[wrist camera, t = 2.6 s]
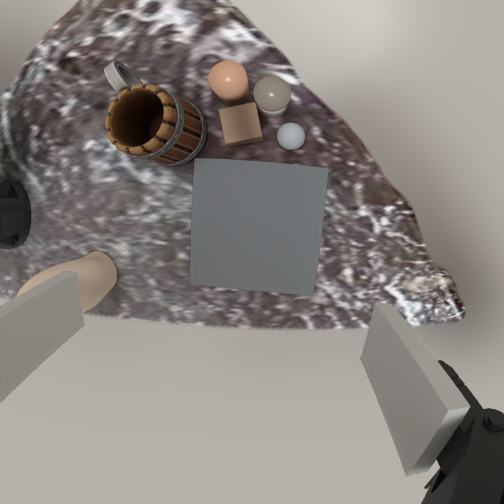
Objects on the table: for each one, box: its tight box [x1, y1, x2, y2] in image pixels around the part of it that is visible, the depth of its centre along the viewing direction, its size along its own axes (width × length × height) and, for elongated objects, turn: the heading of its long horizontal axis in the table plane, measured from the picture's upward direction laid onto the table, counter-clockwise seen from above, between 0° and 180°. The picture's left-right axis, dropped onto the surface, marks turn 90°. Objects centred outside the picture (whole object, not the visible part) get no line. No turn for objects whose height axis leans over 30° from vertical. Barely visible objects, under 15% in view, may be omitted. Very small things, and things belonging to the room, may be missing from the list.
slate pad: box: [190, 158, 328, 296], centre depth 46 cm, size 20×20×1 cm
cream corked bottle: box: [16, 251, 117, 313], centre depth 36 cm, size 10×9×28 cm
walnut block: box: [219, 102, 263, 147], centre depth 40 cm, size 5×5×5 cm
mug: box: [104, 60, 207, 166], centre depth 36 cm, size 16×11×15 cm
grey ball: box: [277, 123, 305, 150], centre depth 40 cm, size 4×4×4 cm
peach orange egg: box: [208, 61, 250, 106], centre depth 38 cm, size 5×5×7 cm
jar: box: [253, 76, 291, 119], centre depth 38 cm, size 5×5×7 cm
